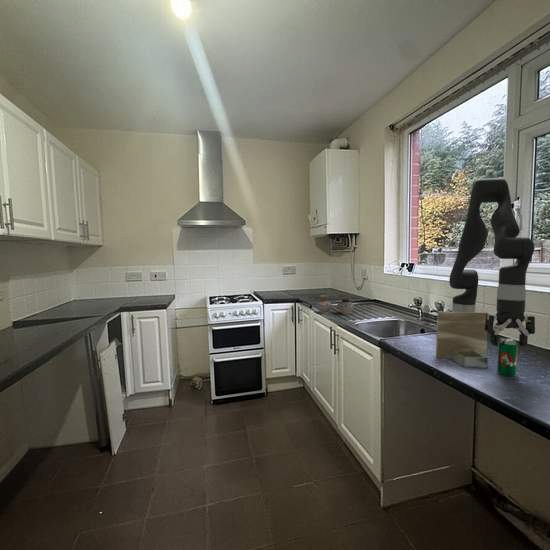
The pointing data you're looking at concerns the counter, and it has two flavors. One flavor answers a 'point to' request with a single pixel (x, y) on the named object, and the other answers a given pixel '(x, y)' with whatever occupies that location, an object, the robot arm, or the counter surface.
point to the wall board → (461, 333)
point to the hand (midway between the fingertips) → (508, 345)
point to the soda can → (507, 357)
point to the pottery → (343, 306)
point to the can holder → (469, 359)
